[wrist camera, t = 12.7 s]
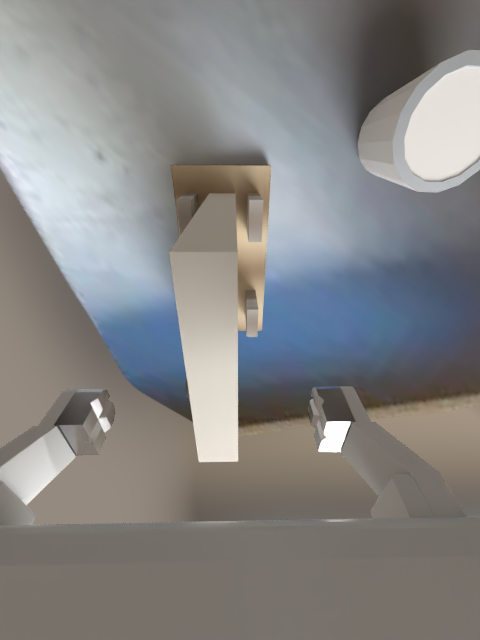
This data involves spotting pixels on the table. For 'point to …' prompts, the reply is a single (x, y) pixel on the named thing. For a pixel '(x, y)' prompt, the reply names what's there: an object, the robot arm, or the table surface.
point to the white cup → (427, 128)
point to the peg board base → (250, 220)
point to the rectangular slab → (210, 323)
